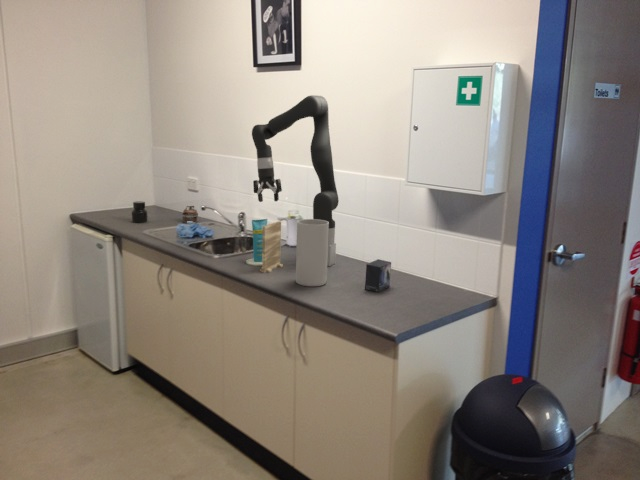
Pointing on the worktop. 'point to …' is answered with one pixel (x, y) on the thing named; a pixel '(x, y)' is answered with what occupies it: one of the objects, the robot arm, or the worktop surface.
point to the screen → (271, 247)
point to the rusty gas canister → (190, 214)
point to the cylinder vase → (312, 252)
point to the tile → (253, 262)
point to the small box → (377, 275)
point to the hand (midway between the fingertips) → (268, 201)
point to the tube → (258, 238)
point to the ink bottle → (139, 212)
